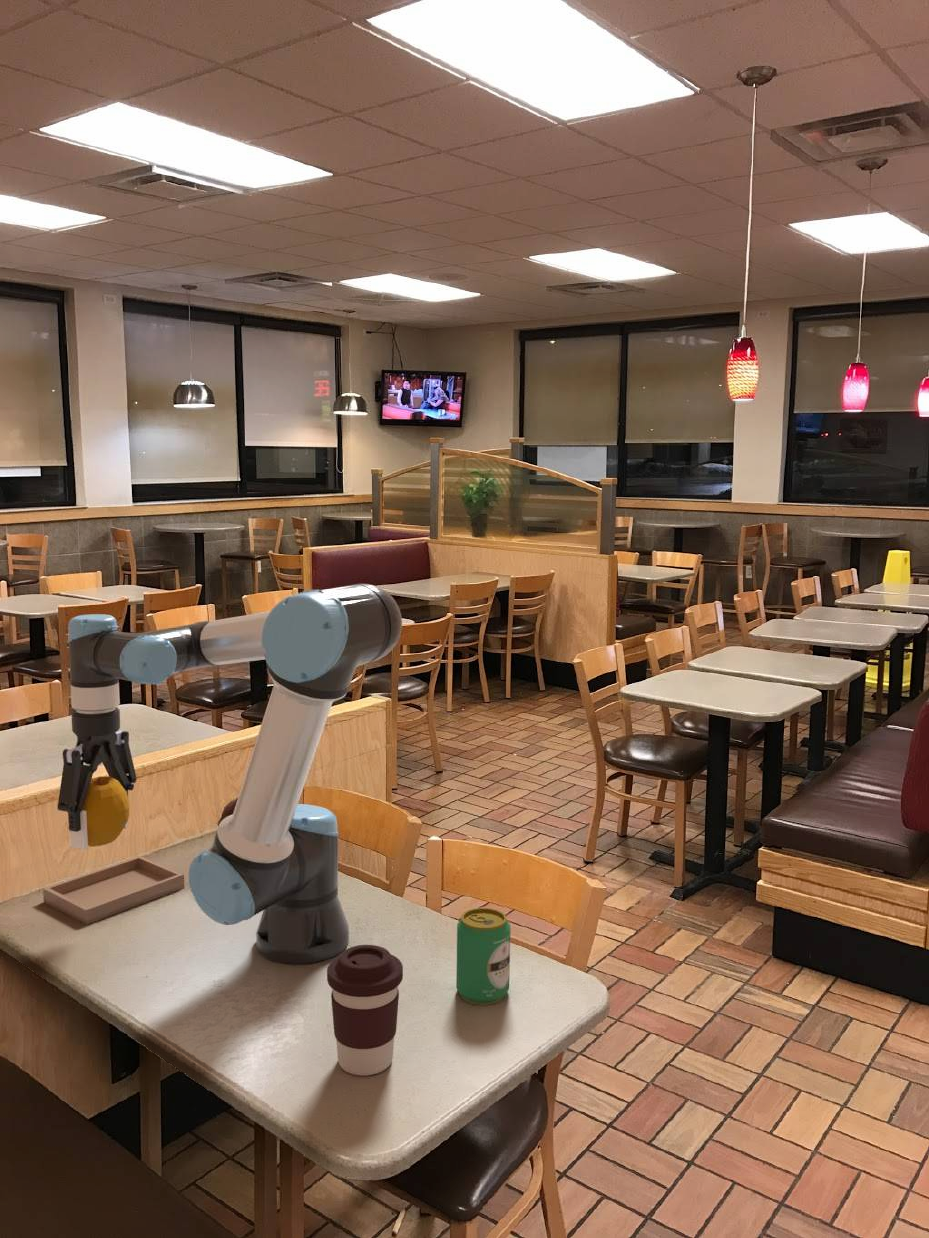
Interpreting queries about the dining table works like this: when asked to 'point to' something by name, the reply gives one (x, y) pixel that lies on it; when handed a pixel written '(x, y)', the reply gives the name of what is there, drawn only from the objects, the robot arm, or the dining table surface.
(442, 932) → the dining table surface
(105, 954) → the dining table surface
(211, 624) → the robot arm
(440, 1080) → the dining table surface
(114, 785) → the apple
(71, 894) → the tray
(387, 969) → the coffee cup
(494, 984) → the beverage can
